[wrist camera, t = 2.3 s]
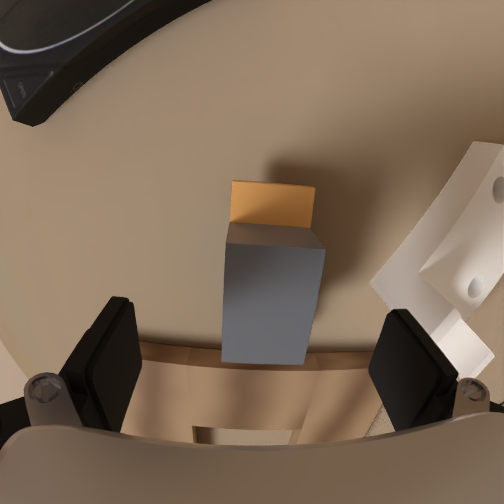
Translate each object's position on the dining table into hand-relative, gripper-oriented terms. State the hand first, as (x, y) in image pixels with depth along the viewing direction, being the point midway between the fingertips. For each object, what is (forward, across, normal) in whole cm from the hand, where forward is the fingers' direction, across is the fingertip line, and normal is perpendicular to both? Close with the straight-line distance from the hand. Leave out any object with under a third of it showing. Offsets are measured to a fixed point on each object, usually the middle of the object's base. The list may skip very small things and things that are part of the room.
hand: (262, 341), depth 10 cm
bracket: (+9, -14, -2) cm, 17 cm away
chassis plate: (+8, -1, +18) cm, 20 cm away
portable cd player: (+10, +12, -20) cm, 25 cm away
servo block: (+8, -1, 0) cm, 9 cm away
